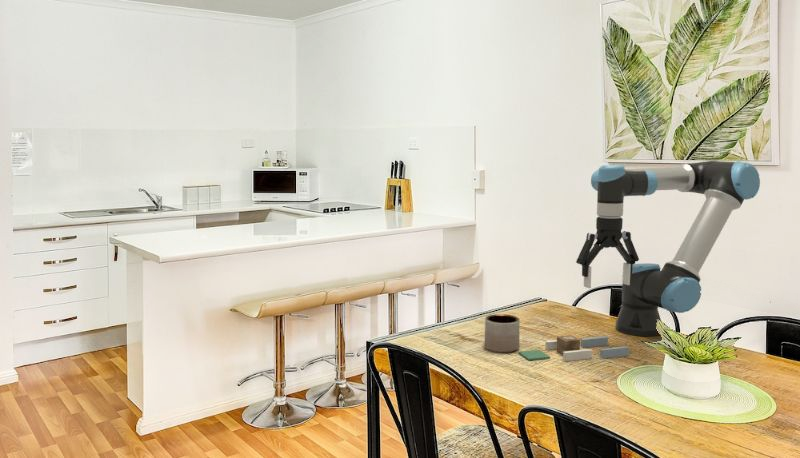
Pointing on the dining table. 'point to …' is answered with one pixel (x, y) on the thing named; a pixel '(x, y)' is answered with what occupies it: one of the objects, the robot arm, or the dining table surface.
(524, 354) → the pad
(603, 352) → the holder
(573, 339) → the letter cube
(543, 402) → the dining table surface
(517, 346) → the planter
